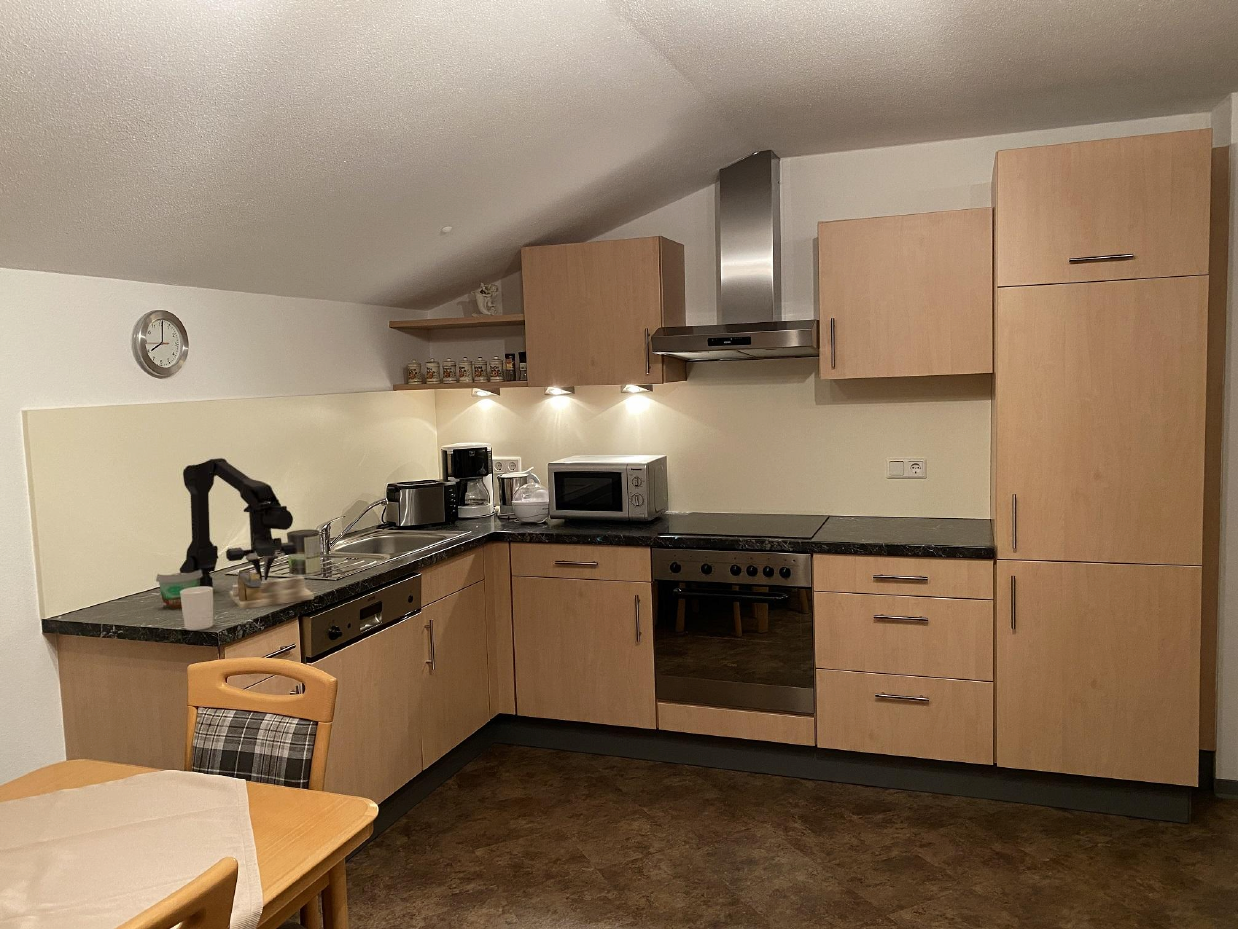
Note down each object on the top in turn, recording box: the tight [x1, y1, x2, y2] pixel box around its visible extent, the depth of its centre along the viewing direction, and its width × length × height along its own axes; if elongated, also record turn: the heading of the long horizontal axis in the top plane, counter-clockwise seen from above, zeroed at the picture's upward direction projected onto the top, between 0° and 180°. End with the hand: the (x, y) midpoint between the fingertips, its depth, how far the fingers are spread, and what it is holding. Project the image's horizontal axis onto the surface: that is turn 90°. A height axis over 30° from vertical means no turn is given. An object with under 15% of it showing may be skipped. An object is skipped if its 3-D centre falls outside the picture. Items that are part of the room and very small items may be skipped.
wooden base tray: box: [228, 576, 315, 610], centre depth 282 cm, size 20×20×8 cm
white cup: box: [180, 587, 214, 631], centre depth 250 cm, size 8×8×10 cm
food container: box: [155, 570, 203, 610], centre depth 273 cm, size 12×6×10 cm, turn 114°
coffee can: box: [286, 529, 322, 578], centre depth 316 cm, size 10×10×14 cm
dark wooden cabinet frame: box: [237, 570, 262, 587], centre depth 279 cm, size 16×3×4 cm, turn 34°
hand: (263, 580), depth 278 cm, fingers closed
